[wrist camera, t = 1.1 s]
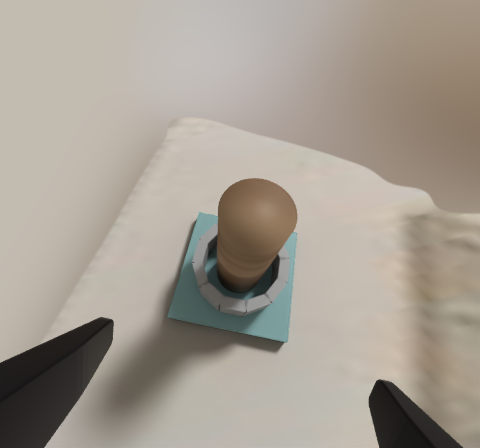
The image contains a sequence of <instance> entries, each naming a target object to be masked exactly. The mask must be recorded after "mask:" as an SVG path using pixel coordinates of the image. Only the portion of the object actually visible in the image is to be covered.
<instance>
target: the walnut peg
mask: <svg viewBox="0 0 480 448" xmlns="http://www.w3.org/2000/svg"><path fill="white" fill-rule="evenodd" d="M296 223H297V210H296V206H295V204H294V201H293V200H292V198H291V196H290V195H289V194H288V193H287V192H286V191H285V190H284V189H283V188H282V187H280V186H279V185H277V184H275V183H273V182H271V181H268V180H264V179H256V178H253V179H245V180H241V181H239V182H236V183H234V184H233V185H231V186H230V187H229V188H228V189H227V190H226V191H225V192H224V193H223V195H222V197H221V199H220V202H219V206H218V238H217V277H218V280H219V282H220V283H221V285H222V286H223V287H224V288H226V289H227V290H229V291H231V292H234V293H244V292H247V291H250V290H251V289H253V288H254V287H255V286H256V285H257V283H258V282H259V280H260V279H261V277H262V276H263V274H264V273H265V272H266V270H267V269H268V267H269V266H270V264H271V263H272V261H273V260H274V259H275V257H276V256H277V254H278V253H279V251H280V250H281V248H282V247H283V246H284V244H285V243H286V241H287V240H288V238H289V237H290V235H291V234H292V233H293V231H294V229H295V226H296Z"/></svg>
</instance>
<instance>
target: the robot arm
mask: <svg viewBox="0 0 480 448" xmlns="http://www.w3.org/2000/svg"><path fill="white" fill-rule="evenodd" d="M113 326H114V322H113V320H112V319H108V318H104V317H100V318H97V319H95V320H93V321H91V322H89V323H87V324H84V325H82V326H80V327H78V328H76V329H73V330H71V331H69V332H67V333H65V334H62V335H60V336H58V337H56V338H54V339H51V340H49V341H47V342H45V343H43V344H40V345H38V346H36V347H34V348H32V349H30V350H27V351H25V352H23V353H21V354H19V355H17V356H14V357H12V358H10V359H8V360H5V361H3V362H1V363H0V448H44V447H45V446H46V445H47V443H48V442H49V440H50V439H51V437H52V436H53V435H54V433H55V432H56V430H57V429H58V428H59V426H60V425H61V423H62V422H63V421H64V419H65V418H66V416H67V415H68V414H69V412H70V411H71V409H72V408H73V407H74V405H75V404H76V402H77V401H78V399H79V398H80V396H81V395H82V394H83V392H84V390H85V389H86V387H87V385H88V384H89V382H90V380H91V379H92V377H93V375H94V373H95V372H96V370H97V368H98V367H99V365H100V363H101V361H102V360H103V358H104V356H105V355H106V353H107V351H108V350H109V348H110V346H111V344H112V340H113ZM369 408H370V412H371V416H372V420H373V424H374V428H375V432H376V437H377V441H378V445H379V448H463V447H462V446H461V445H460V444H459V443H457V442H456V441H455V440H454V439H453V438H452V437H451V436H450V435H449V434H448V433H447V432H445V431H444V430H443V429H442V428H441V427H440V426H439V425H438V424H437V423H436V422H435V421H434V420H432V419H431V418H430V417H429V416H428V415H427V414H426V413H425V412H424V411H423V410H422V409H421V408H419V407H418V406H417V405H416V404H415V403H414V402H413V401H412V400H411V399H410V398H409V397H408V396H406V395H405V394H404V393H403V392H402V391H401V390H400V389H399V388H398V387H397V386H396V385H394V384H393V383H392V382H390V381H386V380H381V379H379V380H377V381H376V383H375V385H374V387H373V389H372V391H371V394H370V396H369Z"/></svg>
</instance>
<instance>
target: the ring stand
mask: <svg viewBox="0 0 480 448" xmlns="http://www.w3.org/2000/svg"><path fill="white" fill-rule="evenodd" d="M217 238H218V216H215V215H210V214H205V213H201V212H199V215H198V218H197V221H196V224H195V228H194V231H193V234H192V237H191V241H190V244H189V247H188V251H187V254H186V257H185V260H184V264H183V267H182V270H181V273H180V277H179V280H178V283H177V286H176V290H175V293H174V296H173V300H172V303H171V306H170V309H169V313H168V316H167V317H168V318H171V319H176V320H181V321H185V322H190V323H195V324H200V325H204V326H209V327H214V328H219V329H223V330H228V331H233V332H237V333H242V334H247V335H252V336H256V337H261V338H266V339H271V340H275V341H280V342H288V333H289V321H290V310H291V298H292V287H293V276H294V264H295V253H296V241H297V233H296V232H293V233H292V234H291V235H290V237H289V238H288V240H287V241H286V243H285V244H284V246H283V247H282V248H281V250H280V251H279V253H278V254H277V256H276V257H275V259H274V260H273V261H272V263H271V264H270V266H269V267H268V269H267V270H266V272H265V273H264V274H263V276H262V277H261V279H260V280H259V282H258V283H257V285H256V286H255V287H254V288H253V289H251V290H250V291H247V292H244V293H234V292H231V291H229V290H227V289H226V288H224V287H223V286H222V285H221V283H220V282H219V280H218V277H217Z"/></svg>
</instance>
